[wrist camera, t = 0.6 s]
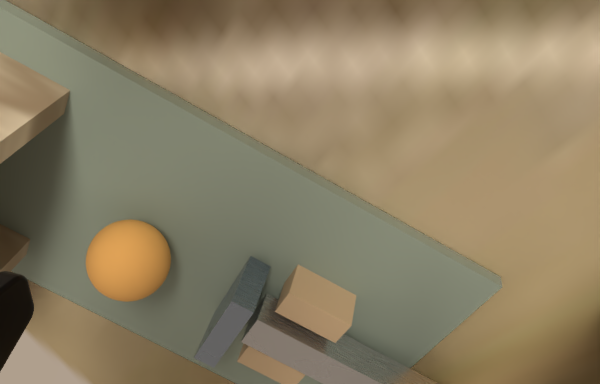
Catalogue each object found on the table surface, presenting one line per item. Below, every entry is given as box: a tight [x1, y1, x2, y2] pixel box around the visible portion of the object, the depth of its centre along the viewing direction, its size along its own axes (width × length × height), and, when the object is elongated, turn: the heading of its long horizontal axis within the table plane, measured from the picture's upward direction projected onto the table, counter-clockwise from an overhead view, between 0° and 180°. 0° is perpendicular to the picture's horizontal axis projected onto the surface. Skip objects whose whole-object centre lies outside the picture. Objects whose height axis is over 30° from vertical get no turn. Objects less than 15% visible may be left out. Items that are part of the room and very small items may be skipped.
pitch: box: [0, 0, 502, 384], centre depth 25 cm, size 23×14×2 cm, turn 63°
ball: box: [86, 220, 171, 302], centre depth 24 cm, size 4×4×4 cm
